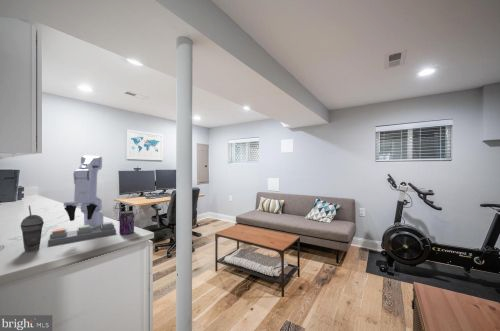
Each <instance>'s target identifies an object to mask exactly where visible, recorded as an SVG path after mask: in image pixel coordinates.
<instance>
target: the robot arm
mask: <svg viewBox="0 0 500 331" xmlns="http://www.w3.org/2000/svg"><path fill="white" fill-rule="evenodd" d="M102 168H103V157H102V156H101V155H82V156H81V157H80V165H79V167H78V168H77V169H76V170H74V171H73V173H72V174H73V184H74V197H73V201H69V202H68V201H67V202H66V201H65V202H63V207H64V210H65V212H66V214H67V215H68V217H69V221H70V222H72V221H73V222H74V221H75V219H76V217H75V214H76V209H77V207H79V206H80V212H81V213H82V214H83V225H90V226H92V228H96V227H100V224H102V223H104V212H103V211H102V210H103V204H102V203H103V202H102V198H100V197H99V196H97V192H98V191H97V190H98V173H99V171H101V170H102Z"/></svg>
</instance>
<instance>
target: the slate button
mask: <svg viewBox="0 0 500 331" xmlns="http://www.w3.org/2000/svg"><path fill="white" fill-rule="evenodd" d="M112 223H113V222H112V221H103V223H102V226H108V225H112Z"/></svg>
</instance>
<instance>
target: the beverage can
mask: <svg viewBox="0 0 500 331" xmlns="http://www.w3.org/2000/svg"><path fill="white" fill-rule="evenodd" d="M118 232H119V234H121V235H130V234H132V233H133V232H135V213H134V210H124V211H120V215H119V231H118Z"/></svg>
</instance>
